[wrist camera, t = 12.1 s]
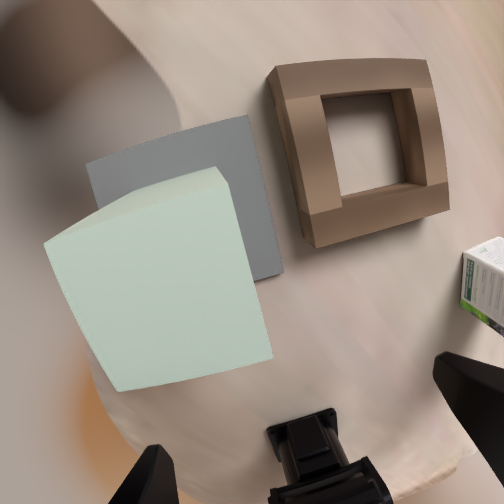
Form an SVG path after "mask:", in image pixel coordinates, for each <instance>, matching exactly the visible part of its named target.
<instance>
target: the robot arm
mask: <svg viewBox="0 0 504 504" xmlns="http://www.w3.org/2000/svg"><path fill="white" fill-rule="evenodd" d="M433 378H434V381H435V382H436V384H437V386H438V388H439V389H440V391H441V393H442V395H443V396H444V398H445V400H446V402H447V403H448V405H449V407H450V409H451V410H452V412H453V414H454V415H455V416H456V418H457V419H458V421H459V422H460V423H461V425H462V426H463V428H464V429H465V430H466V432H467V433H468V435H469V436H470V438H471V439H472V440H473V442H474V443H475V445H476V446H477V448H478V449H479V451H480V452H481V453H482V455H483V456H484V458H485V459H486V461H487V462H488V464H489V465H490V467H491V468H492V470H493V471H494V473H495V475H496V476H497V478H498V479H499V481H500V482H501V484H502V485H503V487H504V369H503V368H500V367H496V366H493V365H490V364H486V363H483V362H480V361H476V360H473V359H470V358H467V357H463V356H460V355H457V354H454V353H451V352H447V351H445V352H443V353H441V354H439V355H437V356H436V357H435V360H434V368H433ZM267 431H268V435H269V438H270V440H271V443H272V446H273V448H274V451H275V454H276V456H277V459H278V461H279V462H282V466H283V469H284V473H285V477H286V480H287V484H288V485H287V486H283V487H280V488H272V489H270V494H271V496H270V497H269V498H267V499H268V503H269V504H393V500H392V497H391V494H390V492H389V490H388V488H387V486H386V484H385V483H384V481H383V480H382V478H381V477H380V475H379V474H378V472H377V470H376V469H375V467H374V466H373V464H372V463H371V461H370V460H369V458H368V457H367V456H365V457H363V458H361V460H358V461H356V462H353V463H351V464H350V463H349V461H348V459H347V457H346V455H345V453H344V450H343V448H342V446H341V444H340V442H339V439H338V428H337V416H336V411H335V409H334V408H329V409H327V410H324V411H321V412H318V413H315V414H312V415H308V416H305V417H302V418H299V419H295V420H292V421H289V422H285V423H282V424H278V425H274V426H271V427H269V428H268V429H267ZM108 504H179V499H178V492H177V485H176V478H175V471H174V464H173V460H172V458H171V457H170V455H169V454H168V453H167V452H166V450H165V449H164V448H163V447H162V446H161V445H160V444H156V445H149V446H147V447H146V449H145V450H144V452H143V453H142V455H141V456H140V458H139V459H138V461H137V462H136V464H135V465H134V467H133V468H132V469H131V471H130V473H129V474H128V475H127V477H126V478H125V480H124V481H123V483H122V484H121V486H120V487H119V488H118V490H117V491H116V493H115V494H114V496H113V497H112V499H111V500H110V502H109V503H108Z"/></svg>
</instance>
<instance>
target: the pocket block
mask: <svg viewBox="0 0 504 504" xmlns="http://www.w3.org/2000/svg"><path fill="white" fill-rule="evenodd" d="M267 78H268V82H269V86H270V90H271V94H272V98H273V102H274V106H275V110H276V114H277V118H278V122H279V126H280V130H281V135H282V139H283V143H284V148H285V152H286V156H287V161H288V165H289V170H290V174H291V179H292V184H293V188H294V193H295V198H296V203H297V208H298V213H299V218H300V223H301V228H302V233H303V237H304V238H305V239H306V240H307V241H308V242H309V243H310V244H311V245H312V246H314V247H315V248H316V249H317V248H320V247H324V246H327V245H331V244H334V243H338V242H341V241H345V240H348V239H352V238H355V237H359V236H362V235H366V234H369V233H373V232H376V231H379V230H383V229H386V228H390V227H393V226H397V225H400V224H403V223H407V222H410V221H414V220H417V219H420V218H424V217H427V216H431V215H434V214H437V213H441V212H444V211H447V210H450V205H449V189H448V177H447V167H446V158H445V150H444V143H443V136H442V130H441V124H440V118H439V113H438V108H437V103H436V98H435V94H434V89H433V85H432V81H431V77H430V73H429V69H428V65H427V62H426V60H420V59H397V58H364V59H339V60H325V61H313V62H303V63H294V64H286V65H279V66H275V68H274V69H273V70H272V71H271V72H270V74H269V75H268V76H267ZM382 93H391V97H392V102H393V106H394V111H395V116H396V121H397V126H398V131H399V137H400V142H401V148H402V155H403V161H404V168H405V176H406V182H402V183H398V184H393V185H389V186H384V187H380V188H375V189H371V190H367V191H362V192H358V193H354V194H350V195H345V196H341V195H340V189H339V183H338V178H337V172H336V167H335V162H334V157H333V152H332V147H331V142H330V137H329V132H328V128H327V123H326V119H325V115H324V110H323V106H322V102H321V99H329V98H338V97H347V96H357V95H368V94H382Z"/></svg>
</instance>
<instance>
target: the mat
mask: <svg viewBox="0 0 504 504" xmlns="http://www.w3.org/2000/svg"><path fill="white" fill-rule="evenodd" d="M214 166H216V167H217V169H218V170H219V171H220V173H221V174H222V176H223V177H224V179H225V180H226V182H227V183H228V186H229V189H230V193H231V197H232V201H233V205H234V209H235V213H236V216H237V220H238V224H239V228H240V232H241V236H242V239H243V243H244V247H245V251H246V255H247V258H248V262H249V266H250V270H251V274H252V277H253V281H256V280H260V279H263V278H267V277H270V276H274V275H277V274H281V273H284V271H283V266H282V262H281V257H280V252H279V248H278V243H277V239H276V234H275V230H274V225H273V221H272V216H271V212H270V208H269V203H268V199H267V194H266V190H265V186H264V182H263V177H262V173H261V169H260V165H259V160H258V156H257V152H256V148H255V144H254V140H253V135H252V131H251V127H250V123H249V119H248V115H244V116H240V117H235V118H231V119H226V120H222V121H218V122H214V123H210V124H206V125H202V126H199V127H195V128H191V129H188V130H184V131H181V132H177V133H174V134H171V135H167V136H164V137H161V138H157V139H154V140H152V141H148V142H145V143H142V144H139V145H136V146H133V147H130V148H127V149H124V150H122V151H119V152H116V153H113V154H111V155H108V156H105V157H103V158H100V159H98V160H95V161H92V162H90V163H87V164H86V168H87V172H88V175H89V179H90V183H91V186H92V189H93V193H94V196H95V200H96V203H97V206H98V209H99V210H100V209H101V208H103V207H105V206H107V205H109V204H110V203H112V202H114V201H116V200H118V199H119V198H121V197H123V196H125V195H127V194H129V193H131V192H132V191H135V190H138V189H141V188H144V187H147V186H150V185H153V184H156V183H159V182H162V181H166V180H169V179H172V178H176V177H179V176H182V175H186V174H189V173H193V172H196V171H200V170H203V169H207V168H211V167H214Z"/></svg>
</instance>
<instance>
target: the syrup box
mask: <svg viewBox="0 0 504 504" xmlns="http://www.w3.org/2000/svg"><path fill="white" fill-rule="evenodd" d="M463 259H464V264H463V278H462V291H461V300H460V306H461V307H462V308H464V309H465V310H467V311H468V312H470V313H471V314H472V315H474V316H475V317H477V318H478V319H480V320H481V321H482V322H484V323H485V324H487V325H488V326H489V327H491V328H492V329H494V330H495V331H496V332H498V333H499V334H500V335H502V336H503V337H504V238H501V237H495V238H493V239H491V240H488V241H486V242H484V243H481V244H479V245H477V246H475V247H473V248H471V249H468V250H466V251H464V252H463Z"/></svg>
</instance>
